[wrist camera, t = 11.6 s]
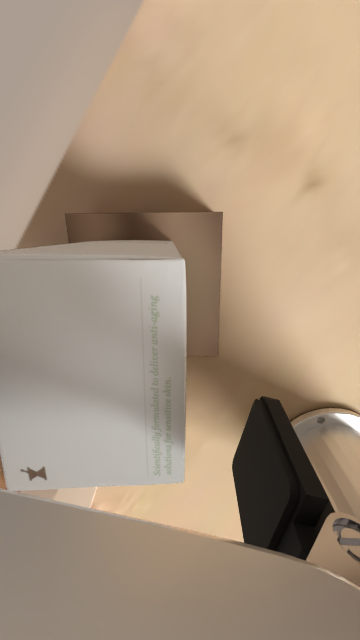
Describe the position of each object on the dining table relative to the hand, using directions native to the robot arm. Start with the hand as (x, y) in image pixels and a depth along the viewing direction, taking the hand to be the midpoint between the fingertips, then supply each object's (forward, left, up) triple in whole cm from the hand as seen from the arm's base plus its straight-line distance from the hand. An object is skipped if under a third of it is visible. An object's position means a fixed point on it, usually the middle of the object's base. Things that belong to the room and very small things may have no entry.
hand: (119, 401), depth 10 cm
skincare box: (+2, 0, -15) cm, 15 cm away
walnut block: (+1, 0, -21) cm, 21 cm away
